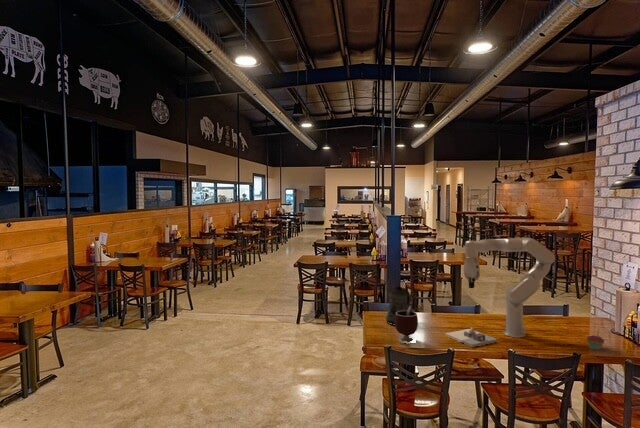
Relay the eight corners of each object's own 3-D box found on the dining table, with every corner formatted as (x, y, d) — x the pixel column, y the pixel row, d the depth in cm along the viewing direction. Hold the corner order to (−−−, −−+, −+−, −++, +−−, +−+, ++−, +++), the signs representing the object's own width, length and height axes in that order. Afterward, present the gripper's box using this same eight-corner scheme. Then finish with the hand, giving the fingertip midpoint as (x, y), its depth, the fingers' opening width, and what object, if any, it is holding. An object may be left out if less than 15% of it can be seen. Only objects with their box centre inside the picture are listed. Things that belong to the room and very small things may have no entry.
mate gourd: (413, 346, 239) (413, 312, 238) (391, 342, 246) (391, 310, 246) (421, 338, 252) (421, 306, 252) (400, 335, 259) (400, 304, 259)
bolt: (467, 335, 250) (467, 326, 249) (470, 334, 251) (470, 326, 250) (480, 340, 241) (480, 331, 240) (483, 339, 241) (483, 330, 241)
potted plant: (382, 324, 282) (382, 289, 281) (391, 317, 299) (391, 283, 298) (406, 327, 274) (405, 291, 273) (413, 320, 291) (413, 285, 290)
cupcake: (597, 345, 236) (597, 325, 235) (608, 350, 227) (608, 329, 227) (582, 345, 235) (583, 325, 235) (593, 351, 227) (593, 330, 226)
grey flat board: (445, 336, 255) (445, 328, 255) (469, 331, 263) (469, 324, 263) (471, 347, 235) (471, 339, 235) (497, 342, 243) (497, 334, 243)
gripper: (484, 260, 256) (484, 289, 257) (467, 257, 270) (467, 285, 270) (475, 261, 253) (475, 290, 254) (458, 258, 267) (458, 286, 267)
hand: (471, 287), depth 262 cm, fingers closed
